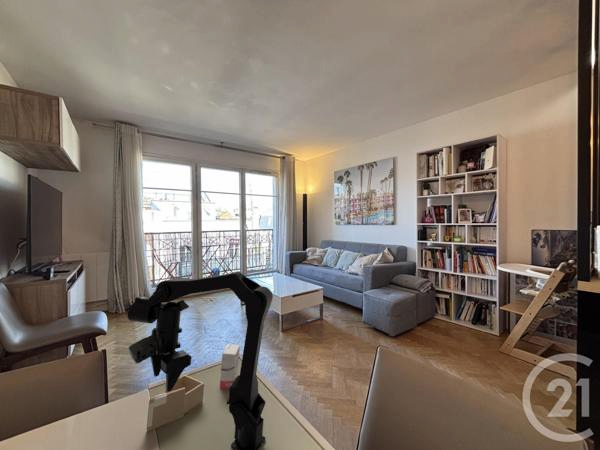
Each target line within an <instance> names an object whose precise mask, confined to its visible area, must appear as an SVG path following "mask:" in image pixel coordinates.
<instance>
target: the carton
mask: <svg viewBox="0 0 600 450" xmlns="http://www.w3.org/2000/svg"><path fill="white" fill-rule="evenodd" d="M184 387H185V398H184V410H183V416H186V415H187V414H189V413H191V411H193V410H195V408H197V407H199V406H200V405H202V404H203V400H204V390H205V383H204V382H202V381H200V380H199V379H196V378H193V377H191V376H189V375H187V374H183V375H180V377H179V378H178V380H177V382H176V384H175V385H174V387H173V389H172V390H171V391H169V392H172V391H175V390H178V389H181V388H184ZM169 392H168V391H167V386H166V385H165V390H164V393H169Z"/></svg>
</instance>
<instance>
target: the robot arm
mask: <svg viewBox="0 0 600 450" xmlns="http://www.w3.org/2000/svg"><path fill="white" fill-rule="evenodd" d="M226 289H230V290H231V291H232V292H233V293H234V295H235V296H236V297H237V298H238V300H240V301H241V302H242V303H244V307H245V309H244V310H245V316H246V317H245V318H246V322H247V325H246V330H245V331H246V333H245V339H244V346H243V350H242V351H243V352H242V358H241V364H240V371H239V374H238V376H237V377H236V379H235V380H234V382H233V383H232V385H231V386H230V389H229V391H228V392H229V393H228V400H227V402H226V405H228V411H229V412H228V413H230V415H231V416H232V418H233V421H234V426H235V427H234V437H233V438H234V440H233V441H232V442H231V444H230V447H231V448H232V449H234V450H259V449H260V448H261V446H262V445H263V444H264V443H265V442H266V437H265V436H264V435H263V434H264V433H263V431H264V420H265V419H264V418H263V417H262V413H263V411H264V409H265V406H266V402H267V401H266V400H265V399H264V398H263V397H262V395H261V394H260V393H259V381H258V377H257V371H258V365H259V358H260V352H261V351H260V350H261V344H262V338H263V332H264V331H263V330H264V324H265V321H266V318H267V316H268V313H269V311H270V307H271V305H272V302H273V297H274V296H273V292H272V291H271V289H270V288H268V287H267V286H263V285H261V284H259V283H258V282H256V281H254V280H252V279H251V278H249V277H247V276H246V275H244V274H243V273H242V272H240V271H234V272H232V273H224V274H220V275H219V274H218V275H213V276H206V277H200V278H199V277H198V278H190V277H174V278H171V279H170V278H169V279H167V280H162V281H160V282H158V284H157V286H156V288H155V291H154V292H152V294H151V295H150V297H147V296H144V295H139V296H136V297H134V298H135V299H134V302H132V304H131V305H130V307H129V309H128V311H127V319H128V321H130V322H133V323H134V322H135V323H143V324H144V323H145V324H153V323H155V322H156V324H155V325H156V326H155V328H154V327H153V329H151V334H150V335H148V336H146V337H144V338H141V339H140V340H138V341H137V342H134V343H132V344H131V345H130V346H128V350H129V353H130V357H131V359H132V360H133V361H134V363H136V364H140V363H142V362H143V361H145V360H147V359H150V361H151V367H152V371H153V376H154V377H155V378H156V377H159V376H160V373H161V371H162V373H164V374H165V381H166V382H165V387H166V386H167V391H168V392H169V391H171V390H172V389H173V387H174V385H175V384H176V382H177V380H178V378H179V377H181V376H182V373H183V371H185V369H186V368H188V367H189V366H191V364H192V355H191V354H189V353H187V352H186V351H185V350H184V349H181V346H182V345H181V343H180V342H179V334H181V333H182V332H183V331H182V330H183V328H181V326H180V325H181V323H180V322H181V313H182V311H185V310H187V309H189V308H190V305H188V303H187V302H185V300H184V299H181V300H179V301H174V300H177V299H180V298H183V297H186V296H188V295H192V294H193V295H194V294H199V293H205V292H212V291H214V292H215V291H220V290H226ZM179 348H180V349H181V350H177V351H176V349H179Z"/></svg>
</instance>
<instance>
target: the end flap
mask: <svg viewBox="0 0 600 450" xmlns="http://www.w3.org/2000/svg"><path fill="white" fill-rule="evenodd" d="M184 398H185V387H184V388H181V389H178V390H175V391H172V392H169V393H165V392H164V393H160V394H157V395H154V396H152V397H151V398H149V400H148V401H149V402H148V410H147V411H148V412H147V421H146V432H149V431H152V430H154V429H156V428H159V427H161V426H164V425H167V424H169V423H171V422H175V421H176V420H179V419H182V418H183V417H184V415H183V410H184Z"/></svg>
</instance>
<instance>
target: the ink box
mask: <svg viewBox="0 0 600 450" xmlns="http://www.w3.org/2000/svg"><path fill="white" fill-rule="evenodd" d="M240 348H241V345H240V344H233V343H232V344H231V343H227V344H226V346H225V347H224V349H223V351H222V355H221V365H220V366H221V368H220V379H219V381H220V382H219V389H229V390H230V386H231V385H232V383H233V382H234V380H235V379H236V377H237V375H239V362H240V361H239V360H240V350H241V349H240Z"/></svg>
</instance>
